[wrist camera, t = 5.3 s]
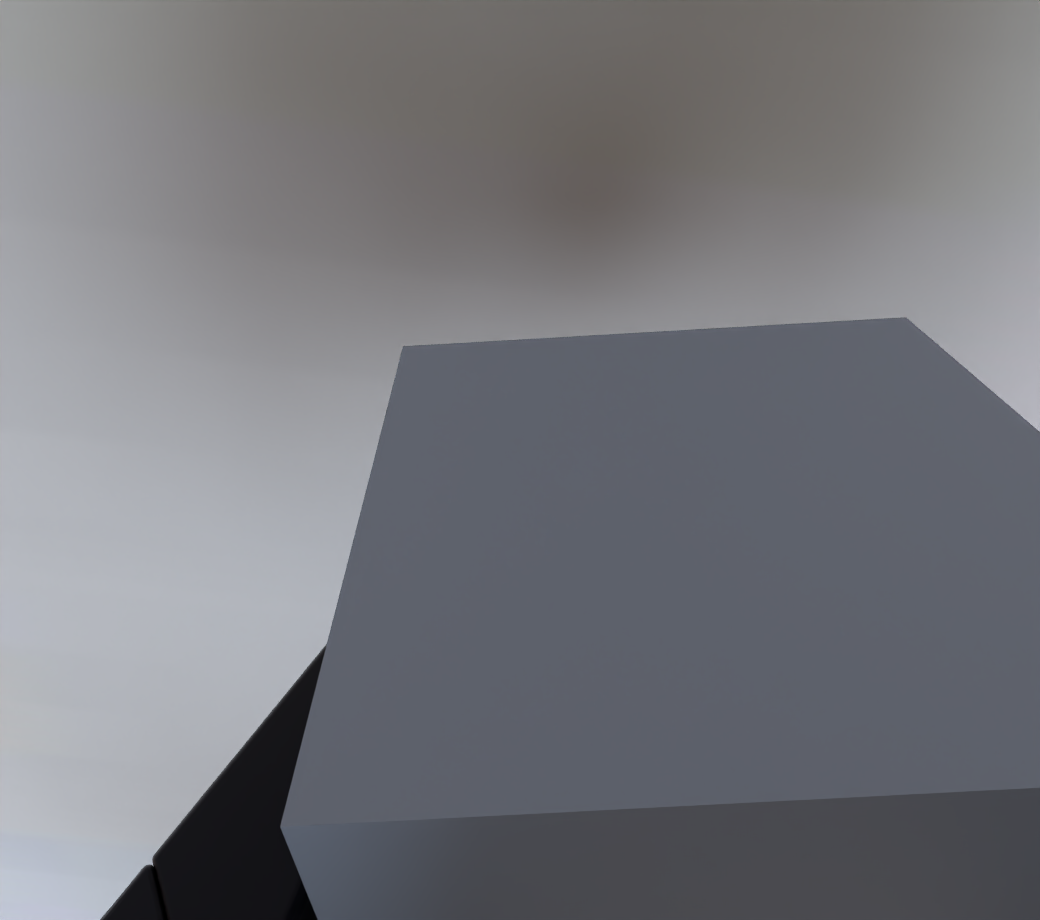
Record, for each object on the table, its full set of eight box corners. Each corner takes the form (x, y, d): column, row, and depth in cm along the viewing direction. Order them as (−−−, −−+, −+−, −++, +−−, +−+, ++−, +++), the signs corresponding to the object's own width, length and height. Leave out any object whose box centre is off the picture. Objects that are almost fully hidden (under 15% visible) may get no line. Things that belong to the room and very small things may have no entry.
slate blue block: (454, 682, 10) (421, 1177, 6) (402, 345, 7) (280, 826, 3) (820, 663, 10) (1045, 1147, 6) (906, 316, 7) (1431, 767, 3)
